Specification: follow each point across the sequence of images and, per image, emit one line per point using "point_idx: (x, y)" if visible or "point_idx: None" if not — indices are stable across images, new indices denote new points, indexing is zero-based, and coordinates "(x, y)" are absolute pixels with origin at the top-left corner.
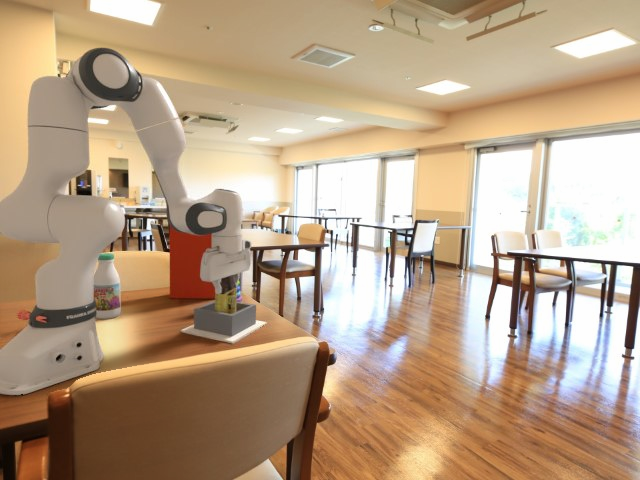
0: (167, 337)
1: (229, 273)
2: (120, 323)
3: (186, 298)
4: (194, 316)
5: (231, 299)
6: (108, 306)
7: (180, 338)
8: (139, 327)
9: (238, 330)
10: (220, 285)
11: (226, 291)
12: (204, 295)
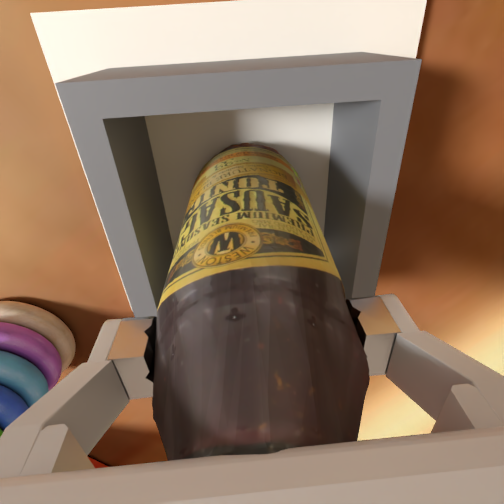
0: (428, 285)
1: (351, 494)
2: (368, 427)
3: (98, 462)
4: None
5: (284, 213)
6: None
7: (425, 247)
8: (377, 386)
9: (302, 56)
10: (435, 351)
11: (334, 282)
12: None
